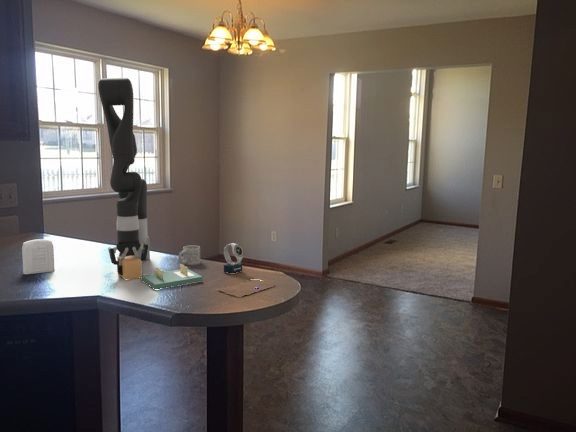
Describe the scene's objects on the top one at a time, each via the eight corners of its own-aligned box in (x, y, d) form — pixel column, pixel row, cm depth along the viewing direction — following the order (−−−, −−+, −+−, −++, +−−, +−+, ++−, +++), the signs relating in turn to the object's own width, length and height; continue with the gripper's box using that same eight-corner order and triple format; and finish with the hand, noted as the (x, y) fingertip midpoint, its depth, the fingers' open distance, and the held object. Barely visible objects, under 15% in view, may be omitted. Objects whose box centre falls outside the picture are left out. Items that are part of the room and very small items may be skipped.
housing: (133, 271, 179) (132, 254, 178) (141, 277, 171) (141, 259, 170) (117, 273, 175) (117, 256, 174) (125, 280, 168) (125, 262, 167)
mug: (192, 260, 197) (192, 244, 196) (203, 262, 193) (203, 246, 192) (173, 265, 189) (173, 248, 188) (185, 268, 185) (184, 251, 184)
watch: (236, 275, 176) (236, 246, 174) (220, 271, 181) (220, 243, 179) (246, 272, 181) (246, 243, 179) (230, 268, 185) (230, 241, 183)
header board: (186, 273, 178) (186, 260, 177) (202, 282, 167) (202, 268, 166) (141, 280, 168) (141, 266, 167) (155, 290, 157) (155, 275, 156)
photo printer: (53, 269, 180) (52, 237, 178) (55, 271, 177) (53, 239, 175) (22, 272, 175) (20, 239, 173) (24, 275, 171) (21, 241, 169)
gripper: (144, 224, 178) (145, 268, 181) (104, 228, 169) (106, 274, 172) (151, 227, 172) (152, 273, 175) (110, 231, 164) (112, 279, 166)
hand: (129, 273), depth 173 cm, fingers closed on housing, 5 cm apart
